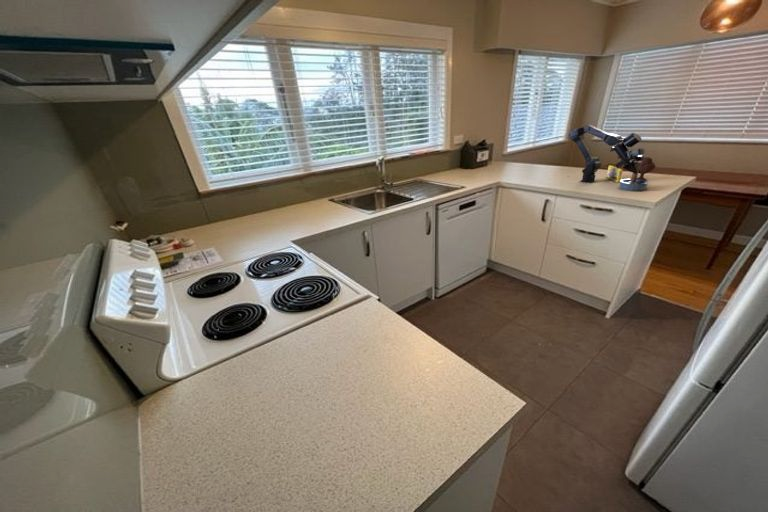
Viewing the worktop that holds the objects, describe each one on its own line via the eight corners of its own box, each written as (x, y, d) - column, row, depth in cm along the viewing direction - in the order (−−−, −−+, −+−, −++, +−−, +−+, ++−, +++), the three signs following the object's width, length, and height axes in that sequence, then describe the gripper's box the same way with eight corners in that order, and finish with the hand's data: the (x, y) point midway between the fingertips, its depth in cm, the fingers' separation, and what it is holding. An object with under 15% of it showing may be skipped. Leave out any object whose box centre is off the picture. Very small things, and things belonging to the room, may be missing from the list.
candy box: (605, 177, 213) (608, 165, 209) (609, 177, 213) (612, 165, 209) (616, 182, 199) (619, 169, 195) (620, 182, 198) (623, 169, 195)
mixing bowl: (613, 188, 186) (615, 181, 184) (626, 185, 191) (628, 178, 189) (638, 192, 175) (640, 185, 173) (650, 188, 180) (653, 181, 178)
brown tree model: (655, 180, 195) (663, 157, 188) (638, 182, 195) (644, 158, 189) (643, 177, 204) (650, 154, 197) (626, 178, 205) (632, 156, 198)
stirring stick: (627, 184, 183) (634, 162, 178) (627, 182, 186) (634, 161, 181) (637, 184, 181) (643, 162, 175) (636, 182, 184) (643, 161, 178)
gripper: (626, 145, 173) (642, 166, 169) (645, 141, 180) (661, 162, 176) (609, 157, 183) (623, 178, 179) (627, 153, 190) (641, 173, 186)
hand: (638, 173), depth 180 cm, fingers closed on stirring stick, 2 cm apart
